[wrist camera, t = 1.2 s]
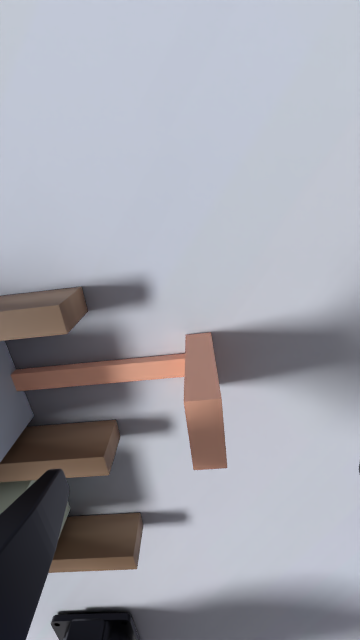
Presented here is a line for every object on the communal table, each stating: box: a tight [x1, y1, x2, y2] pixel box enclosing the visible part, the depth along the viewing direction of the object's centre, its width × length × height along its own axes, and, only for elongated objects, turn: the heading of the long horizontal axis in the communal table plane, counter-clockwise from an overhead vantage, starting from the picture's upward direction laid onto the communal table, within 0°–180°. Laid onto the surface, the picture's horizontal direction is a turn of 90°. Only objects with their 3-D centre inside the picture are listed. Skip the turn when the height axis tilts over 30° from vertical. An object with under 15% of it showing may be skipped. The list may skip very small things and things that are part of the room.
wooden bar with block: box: [0, 332, 227, 470], centre depth 13 cm, size 5×15×5 cm, turn 97°
